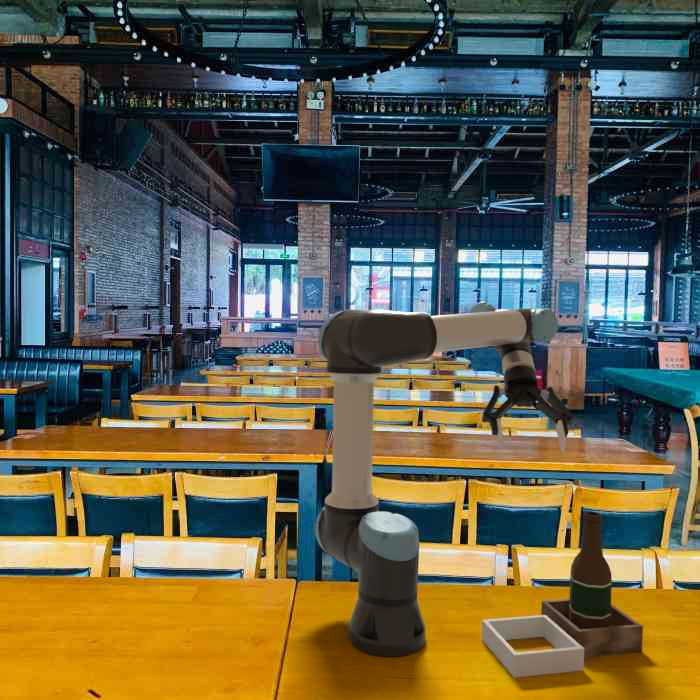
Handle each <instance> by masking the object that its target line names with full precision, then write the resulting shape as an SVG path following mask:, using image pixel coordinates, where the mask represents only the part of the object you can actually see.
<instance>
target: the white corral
mask: <svg viewBox="0 0 700 700" xmlns="http://www.w3.org/2000/svg"><path fill="white" fill-rule="evenodd" d="M481 622H482V623H481V641H482V642H483V643H484V645H485V646H486V647H487V648H488V649H489V651H491V653H492V654H493V655H494V656H495V657H496V659H497V660H499V662H500V663H501V664H502V666H503V667H504V668H505V669H506V670H507V671H508V673H509V674H510V675H511V676H512V678H514V679H515V678H524V677H533V676H534V677H535V676H543V675H552V674H561V673H571V672H572V673H573V672H583V671H584V669H585V667H584V666H585V658H584V648H583V647H582V646H581V645H580V644H579V643H577V642H576V641H575V640H574V639H573V638H572V637H570V636H569V635H568V634H567V633H566V632H565V631H564V630H562V629H561V628H560V627H559V626H558V625H557V624H555V623H554V622H553V621H552V620H551V619H550V618H549V617H547V616H546V615H541V614H536V615H527V616H525V615H524V616H516V617H501V618H490V619H482V620H481ZM540 637H541V638H542V637H543V638H544V639H545V640H547V642H549V644H550V645H552V647H553V648H551V649H540V650H528V651H519V652H517V651H516V650H515V649H514V648H513V647H512V645H510V643H508V642H507V641H509V640H510V641H511V640H523V639H530V638H532V639H533V638H540Z"/></svg>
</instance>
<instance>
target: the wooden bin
mask: <svg viewBox="0 0 700 700" xmlns="http://www.w3.org/2000/svg"><path fill="white" fill-rule="evenodd" d="M569 604H570V598H561V599H547V600H541V609H540V610H541V613H540V615H546V616H547V617H549V618H550V619H551V620H552V621H553V622H554V623H555V624H557V625H558V626H559V627H560V628H561V629H562V630H564V631H565V632H566V633H567V634H568V635H569V636H570V637H572V638H573V639H574V640H575V641H576V642H577V643H579V644H580V645H581V646H582V647H583V648H584V659H585V658H593V657H601V656H602V657H603V656H613V655H623V654H632V653H633V654H634V653H642V652H643V639H644V637H643V636H644V635H643V633H644V626H643V625H642V624H640V623H639V622H638V621H637V620H635V619H634V618H632V617H631V616H629V615H628V614H626V613H625V612H624V611H622V610H621V609H619V608H617V607H616V606H615V605H614V604H612V603H611V619H610V627H603V628H591V629H579V628H578V627H577V626H575V625H574V624H573V623H572V622H571V621H569Z"/></svg>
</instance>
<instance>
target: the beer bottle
mask: <svg viewBox="0 0 700 700" xmlns="http://www.w3.org/2000/svg"><path fill="white" fill-rule="evenodd" d="M582 519H583V527H582V528H583V529H582V536H581V537H582V538H581V546H580V550H579V551H578V553H577V555H576V556H574V558H573V561H572V563H571V565H570V575H569V577H570V578H569V581H570V582H569V599H570V604H569V621H571V622H572V623H573V624H574V625H575V626H577V627H578V628H579V629H591V628H603V627H610V619H611V604H612V585H613V584H612V583H613V580H612V579H613V578H612V571H611V568H610V565H609V564H608V561H607V560H606V558H605V557H604V551H603V540H602V538H603V537H602V536H603V535H602V522H603V520H604V519H603V516H602V514H601V513H599V512H595V511H586V512H584V513H583V515H582Z"/></svg>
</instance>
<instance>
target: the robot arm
mask: <svg viewBox="0 0 700 700" xmlns="http://www.w3.org/2000/svg"><path fill="white" fill-rule="evenodd" d="M558 322H559V321H558V318H557V315H556V314H555V312H554V311H553V310H551V309H549V308H542V307H535V308H532V307H531V308H530V307H529V308H495V306H494V305H493V304H491V303H489V302H487V301H479V302H477V303H476V304H474V305H473V306H472V307H471V308H470V309H469V310H468V313H454V314H453V313H452V314H442V315H441V314H439V315H430V314H429V313H427V312H425V311H413V312H412V311H411V312H410V311H399V310H388V309H379V308H378V309H376V308H375V309H345V310H342V311H337V312H335V313H333V314H331V315H330V316H329V317H327V318H326V320H324V321H323V323H322V325H321V327H320V329H319V332H318V338H317V342H318V343H317V344H318V349H319V351H320V354H322V356H323V357H324V358H325V359H326V374H327V375H328V376H329V377H330V378H331V379H332V380H333V408H332V409H333V410H332V411H333V413H332V414H333V416H332V423H333V424H332V461H331V463H332V468H331V469H332V471H331V472H332V474H331V475H332V476H331V479H332V480H331V492H330V493H329V494H328V495H327V496H326V497H325V498H324V506H323V507H322V508H321V512H320V513H318V515H317V517H316V519H315V523H314V533H315V538H316V541H317V543H318V545H319V546H320V548H321V549H322V550H323V551H324V552H325V553H326V554H327V555H328V556H330V557H331V558H332V559H334V560H335V561H338V562H340V563H342V564H343V565H345V566H347V567H349V568H350V569H352V570H353V571H354V572H356V573H358V584H357V585H358V592H357V593H358V595H357V599H356V602H355V606H354V608H353V611H352V614H351V617H350V620H349V623H348V640H349V642H350V644H352V646H353V647H355V648H356V649H358V650H360V651H362V652H365V653H367V654H371V655H374V656H379V657H400V656H406V655H410V654H413V653H416V652H417V651H419V650H420V649H421V648H423V646H425V643H426V633H427V632H426V630H427V629H426V626H425V622H424V618H423V615H422V611H421V609H420V604H419V601H418V588H419V587H418V586H419V585H418V584H419V583H418V582H419V560H420V558H419V557H420V556H419V555H420V541H419V540H420V539H419V530H418V527H417V525H416V524H415V523H414V522H413V520H411V519H410V518H408V517H406V516H405V515H403V514H399V513H392V512H390V511H382V510H381V511H379V508H380V507H379V499H378V497H377V496H376V495H375V494H374V493H373V491H372V490H373V457H374V456H373V455H374V454H373V453H374V452H373V451H374V450H373V449H374V445H373V443H374V439H373V438H374V398H375V397H374V392H375V390H374V389H375V386H374V385H375V381H376V380H377V379H378V377H380V376H381V375H382V367H383V368H384V367H388V366H394V365H400V364H403V363H409V362H414V361H420V360H427V359H430V358H431V357H432V356H434V354H435V353H443V352H452V351H461V350H467V349H468V350H469V349H475V348H483V347H484V348H485V347H492V348H493V349H495V350H496V351H497V352H498V353H499V355H500V361H501V366H502V374H503V381H504V387H505V388H500V386H499V385H494V387H493V392H492V395H491V398H490V400H489V402H488V403H487V405H486V407H485V409H484V410H483V413H482V418H481V422H482V423H489V427H490V429H491V434H492V436H496V440H497V441H496V442H497V449H498V450H503V447H504V444H505V442H504V434H503V428H502V427H503V426H502V419H501V418H503V417H504V415H505V414H506V413H507V412H508V411H509V410H511V409H512V408H513V407H514V406H516V407H517V408H522V407H526V408H531V407H533V408H534V409H535V410H539V411H540V412H541V413H542V414H544V415H545V416H546V417H547V418H549V420H551V421H552V422H554V423H555V424H556V426H555V430H556V434H557V435H556V436H557V439H558V440H557V441H558V444H559V449H560V452H562V453H563V452H565V451H566V448H567V445H568V442H567V437H568V436H569V428H568V426H570V425H572V423H573V422H574V421H573V420H574V419H575V418H574V417H575V416H574V415H573V413H572V412H571V411H570V410H569V409H568V407H566V405H565V404H564V403H563V401H561V400H560V398H559V397H558V396H557V395H556V394H555V391H554V388H553V387H552V386H548V387H547V389H541V388H540V387H539V383H538V382H539V381H538V378H537V372H536V367H535V363H534V358H533V355H532V348H531V344H530V343H531V342H532V343H533V342H535V343H541V342H549V341H551V340H552V339H554V338H555V337H556V334H557V332H558V329H559V327H558ZM503 395H504V396H505V397H506V398H507V399H506V400H505V401H504V402H502V404H501V405H500V406H499V407H498V408H497V409H496V410H495V411H494V409H495V406H496V405H497V402H498V400H499V399H501V397H503ZM493 411H494V412H493ZM492 412H493V413H492Z"/></svg>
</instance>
